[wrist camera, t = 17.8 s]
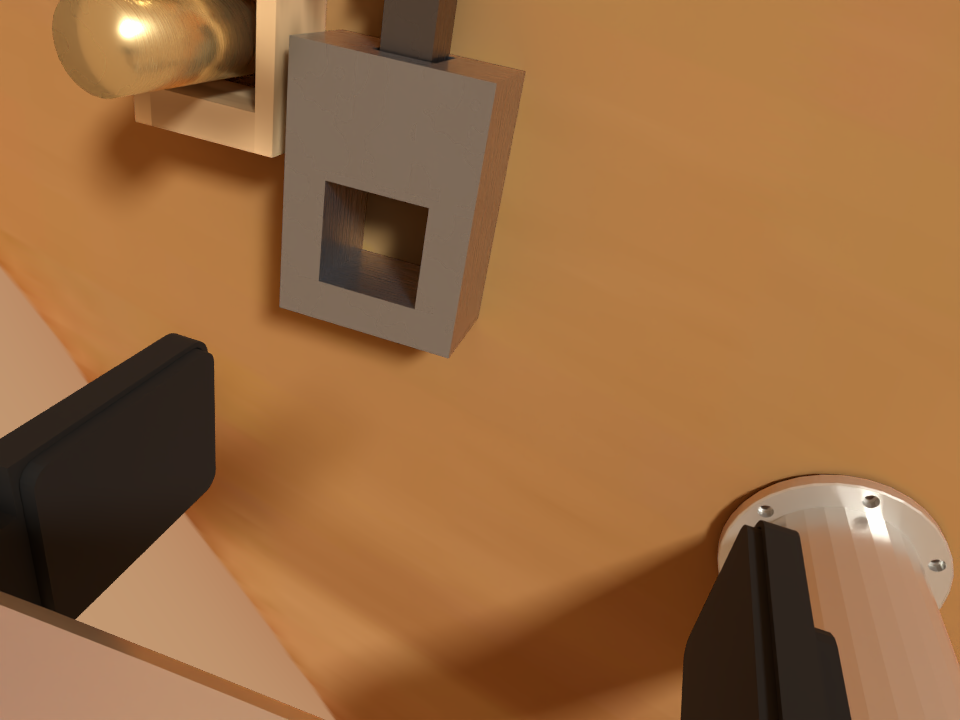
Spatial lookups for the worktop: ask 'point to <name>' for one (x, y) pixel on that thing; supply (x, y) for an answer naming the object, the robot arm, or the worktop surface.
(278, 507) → the worktop surface
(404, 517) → the worktop surface
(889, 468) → the worktop surface
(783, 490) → the robot arm
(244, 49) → the gold cylinder
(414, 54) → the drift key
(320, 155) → the socket block
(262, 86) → the rack
